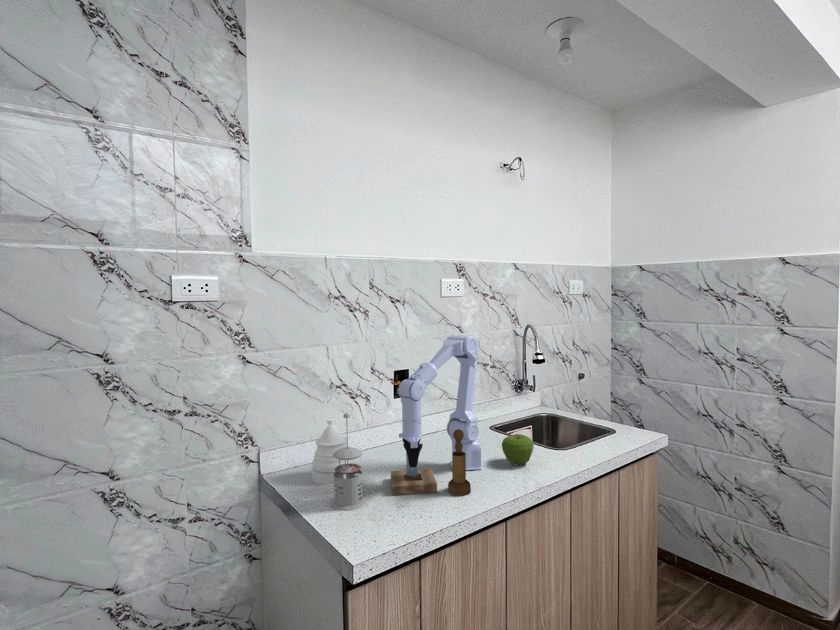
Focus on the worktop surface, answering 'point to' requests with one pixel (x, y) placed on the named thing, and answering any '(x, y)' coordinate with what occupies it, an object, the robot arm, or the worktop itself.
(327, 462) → the honey pot
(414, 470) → the peg
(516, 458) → the apple
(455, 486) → the mortar and pestle
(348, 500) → the french press
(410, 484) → the socket block
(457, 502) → the worktop surface
